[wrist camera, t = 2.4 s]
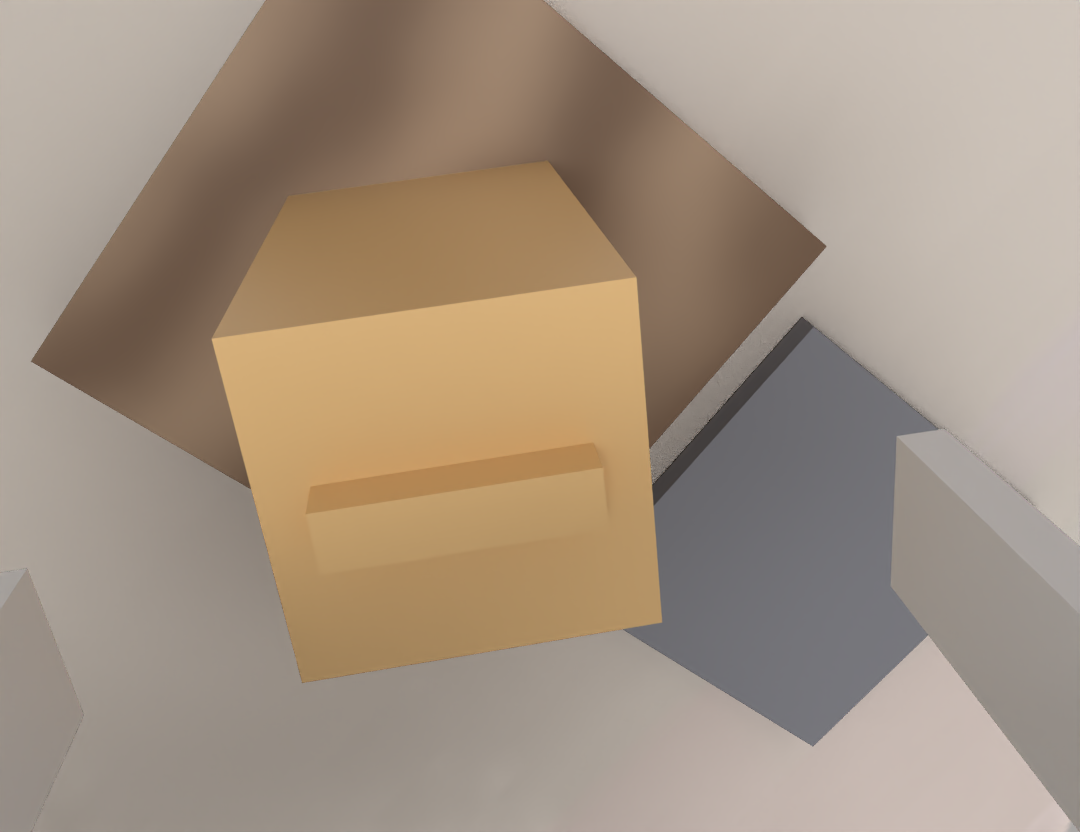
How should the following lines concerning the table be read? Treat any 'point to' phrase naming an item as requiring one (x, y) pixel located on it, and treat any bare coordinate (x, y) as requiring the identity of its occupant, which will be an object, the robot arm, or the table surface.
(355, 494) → the tan tall block
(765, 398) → the pad
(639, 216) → the wooden base with post
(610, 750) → the table surface
